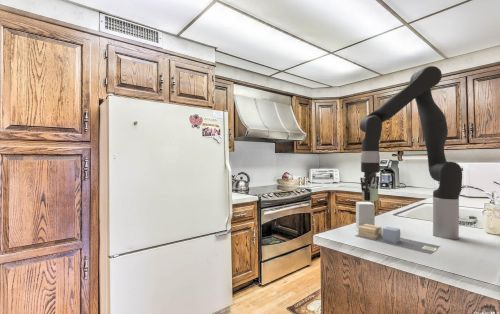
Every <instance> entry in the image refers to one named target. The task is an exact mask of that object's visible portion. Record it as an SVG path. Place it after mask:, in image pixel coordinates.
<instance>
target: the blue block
mask: <svg viewBox="0 0 500 314" xmlns="http://www.w3.org/2000/svg"><path fill="white" fill-rule="evenodd" d="M382 234H383V241H387V242H392V243H397V242H399V241H400V238H401V228H399V227H393V226H389V225H388V226H385V227H384V228H382Z"/></svg>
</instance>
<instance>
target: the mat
mask: <svg viewBox="0 0 500 314" xmlns="http://www.w3.org/2000/svg"><path fill="white" fill-rule="evenodd" d="M354 237H356V238H362V239H365V240H369V241H374V242H378V243H382V244H386V245H391V246H393V247H398V248H404V249H408V250H412V251H415V252H419V253H424V254H428V255H432V254H433V253H434V252H437V250H438V249H439V248H440V247H441V245H436V244H432V243H427V242H423V241H417V240H414V239H413V240H412V239H408V238H404V237H400V241H399V242H397V243H392V242H387V241H383V233H381V236H380V237H378V238H376V239H371V238H367V237H363V236H359V233H358V234H356V235H354ZM424 246H428V247H433V248H437V250H435V251H434V252H433V251H428V250H424V249H422V247H424Z"/></svg>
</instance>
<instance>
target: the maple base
mask: <svg viewBox="0 0 500 314" xmlns="http://www.w3.org/2000/svg"><path fill="white" fill-rule="evenodd" d="M358 234H359V236H363V237H367V238H371V239H376V238H378V237H380V236H381V234H382V226H378V225H375V226H374V225H369V224H364V225H361V226H359V229H358Z"/></svg>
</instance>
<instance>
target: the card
mask: <svg viewBox="0 0 500 314" xmlns="http://www.w3.org/2000/svg"><path fill="white" fill-rule="evenodd" d="M422 249H424V250H428V251H433V253H435V252H436V251H437V250H438V249H437V248H433V247H428V246H424V247H422ZM435 250H436V251H435Z"/></svg>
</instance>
